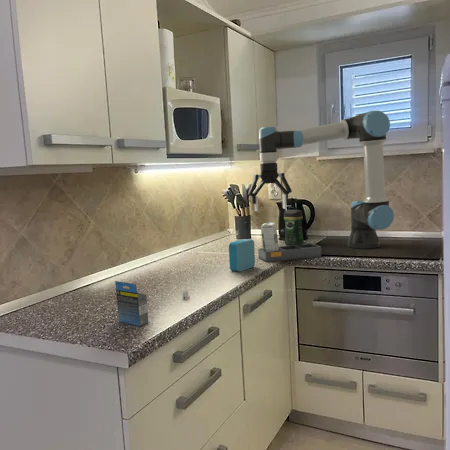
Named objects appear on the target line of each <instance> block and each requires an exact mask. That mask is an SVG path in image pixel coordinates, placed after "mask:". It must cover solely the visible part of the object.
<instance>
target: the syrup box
mask: <svg viewBox="0 0 450 450" xmlns="http://www.w3.org/2000/svg"><path fill="white" fill-rule="evenodd" d="M260 233H261V240H262V248H263V249H264V251H266V252H269V251H279V247H280V245H279V238H278V232H277V225H276V222H265V223H263V224H261V225H260Z"/></svg>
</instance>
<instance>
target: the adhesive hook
mask: <svg viewBox="0 0 450 450" xmlns="http://www.w3.org/2000/svg"><path fill="white" fill-rule="evenodd" d="M180 293H182V294H181V296H182V300H184V299H185V300H188V299H190V297H191V296H190V295H189V290H187V289H182V291H180Z"/></svg>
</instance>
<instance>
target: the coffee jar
mask: <svg viewBox="0 0 450 450" xmlns="http://www.w3.org/2000/svg"><path fill="white" fill-rule="evenodd" d="M303 218H304V217H303V211H302V210H299V209H285V210H284V213H283V220H284V224H285V225H284V226H285V227H284V228H285V229H284V245H285V246H291V245H301V244H305V243H304V235H303V226H302V225H303Z"/></svg>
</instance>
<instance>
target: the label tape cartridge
mask: <svg viewBox="0 0 450 450" xmlns="http://www.w3.org/2000/svg"><path fill="white" fill-rule="evenodd" d="M114 284H115V292H116V294H115V295H116V303H117V314H118V315H117V317H118V322H119V323H124V324H127V325H131V326H132V325H133V326H137V327H142V326H144V325H147V324H148V323H149V313H148V310H149V309H148V299H147V298H148V297H147V294H144V293H141V292H138V289H137V283H132V282H131V283H130V282H123V281H118V280H115V281H114ZM125 287H127V288H125Z"/></svg>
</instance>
